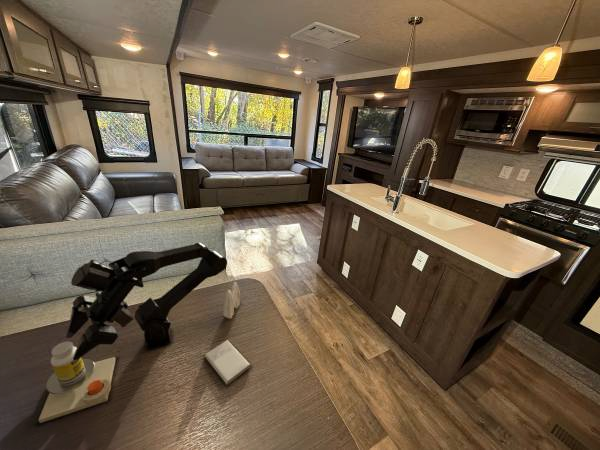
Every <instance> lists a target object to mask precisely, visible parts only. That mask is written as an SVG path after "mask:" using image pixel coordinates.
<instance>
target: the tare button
mask: <svg viewBox="0 0 600 450" xmlns="http://www.w3.org/2000/svg"><path fill="white" fill-rule="evenodd" d="M102 388H103V385H102V383H101V381H100V380H95V381H93V382H92V383H90V384H89V386H88V388H87V389H88V392H89V394H90V395H95V394H97V393H99V392H100V391H101V390H102Z"/></svg>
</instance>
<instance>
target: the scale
mask: <svg viewBox="0 0 600 450" xmlns="http://www.w3.org/2000/svg"><path fill="white" fill-rule="evenodd" d="M93 362H94V361H93ZM115 364H116V356H113V357H109V358H106V359H102V360H98V361H95V362H94V365H95V370H94V372H93V374H92V376H91V377H90V378H89V379H88V380H87V381H86V382H85V383H84V384H83V385H81V386H80V387H78V388H76V389H75V390H72V391H70V392H67V393H64V394H51V393H50V392H48V393H49V394H48V396H47V398H46V400H45V403H44V406H43V408H42V410H41V413H40V415H39V418H38V422H39V424H42V423H45V422H47V421H51V420H54V419H57V418H59V417H60V418H61V417H63V416H66V415H69V414H72V413H75V412H77V411H82V410H84V409H86V408H90V407H93V406H96V405H99V404H102V403H105V402H107V401H108V399H109V394H110V392H111V388H112V385H111V384H112V379H113V375H114V374H113V373H114V370H115V366H116V365H115ZM95 380H100V381H101V383H102V385H103V388H102V390H101V391H100V392H99V393H97V394H95V395H90V394H89V392H88V389H87V388H88V386H89V384H90V383H92V382H93V381H95Z"/></svg>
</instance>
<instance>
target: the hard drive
mask: <svg viewBox="0 0 600 450" xmlns="http://www.w3.org/2000/svg"><path fill="white" fill-rule="evenodd" d="M204 358H205V359H206V361H208V363H209V364H210V365H211V367H212V368H213V369H214V370H215V372H216V373H217V374H218V375H219V377H220V378H221V379H222V381H223V382H224V383H225V385H226V386H228V385H230V384H231V383H232V382H233V381H235V380H236V379H238V377H240V376H241V375H242V374H244V373H245V372H246V371H247V370H249V369H250V368H251V364H250V362H249V361H248V360H247V359H246V358H245V357H244V356H243V355H242V353H240V352H239V351H238V349H236V348H235V346H234V345H233V344H232V343H231V342H230V341H229V340H228V339H226V340H225V341H223V342H222V343H220V344H219V345H217V346H215V347H214V348H212V349H211V350H209V351H207V352H206V353H205V355H204Z"/></svg>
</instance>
